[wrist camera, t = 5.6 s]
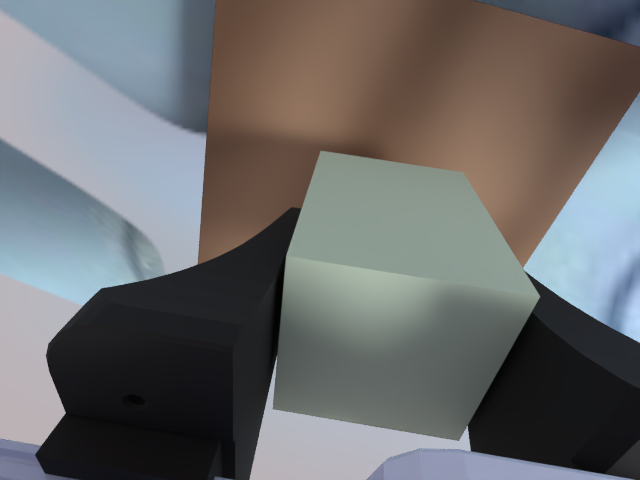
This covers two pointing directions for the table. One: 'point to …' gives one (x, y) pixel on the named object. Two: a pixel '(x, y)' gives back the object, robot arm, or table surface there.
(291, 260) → the sage block
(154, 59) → the table surface
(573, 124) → the walnut plinth
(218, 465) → the robot arm
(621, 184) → the table surface
